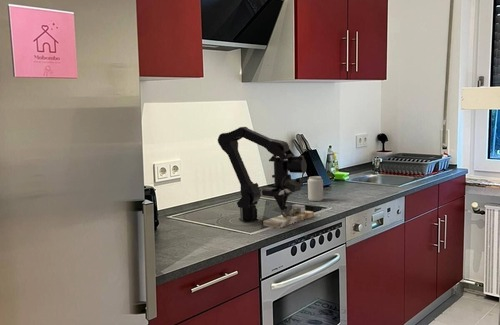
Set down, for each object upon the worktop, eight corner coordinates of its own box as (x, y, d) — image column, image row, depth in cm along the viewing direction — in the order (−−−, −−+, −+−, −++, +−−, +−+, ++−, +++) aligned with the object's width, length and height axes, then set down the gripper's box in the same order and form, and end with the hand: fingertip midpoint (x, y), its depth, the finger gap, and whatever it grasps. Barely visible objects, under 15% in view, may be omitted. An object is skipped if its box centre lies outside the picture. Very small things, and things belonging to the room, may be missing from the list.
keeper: (300, 214, 207) (300, 206, 207) (291, 213, 210) (291, 205, 210) (305, 213, 209) (304, 205, 209) (296, 211, 212) (295, 204, 212)
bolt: (287, 217, 201) (286, 206, 201) (281, 216, 203) (280, 205, 203) (301, 213, 209) (301, 202, 208) (295, 212, 211) (295, 201, 210)
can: (325, 199, 247) (325, 175, 245) (319, 202, 240) (319, 178, 239) (311, 198, 251) (311, 175, 249) (305, 201, 244) (305, 177, 243)
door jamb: (278, 228, 194) (278, 223, 193) (263, 225, 199) (263, 220, 199) (313, 216, 211) (313, 211, 211) (298, 214, 217) (298, 209, 216)
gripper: (282, 176, 187) (283, 216, 189) (310, 170, 201) (311, 207, 203) (260, 174, 195) (261, 213, 197) (289, 169, 208) (290, 205, 210)
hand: (282, 209), depth 201 cm, fingers closed
